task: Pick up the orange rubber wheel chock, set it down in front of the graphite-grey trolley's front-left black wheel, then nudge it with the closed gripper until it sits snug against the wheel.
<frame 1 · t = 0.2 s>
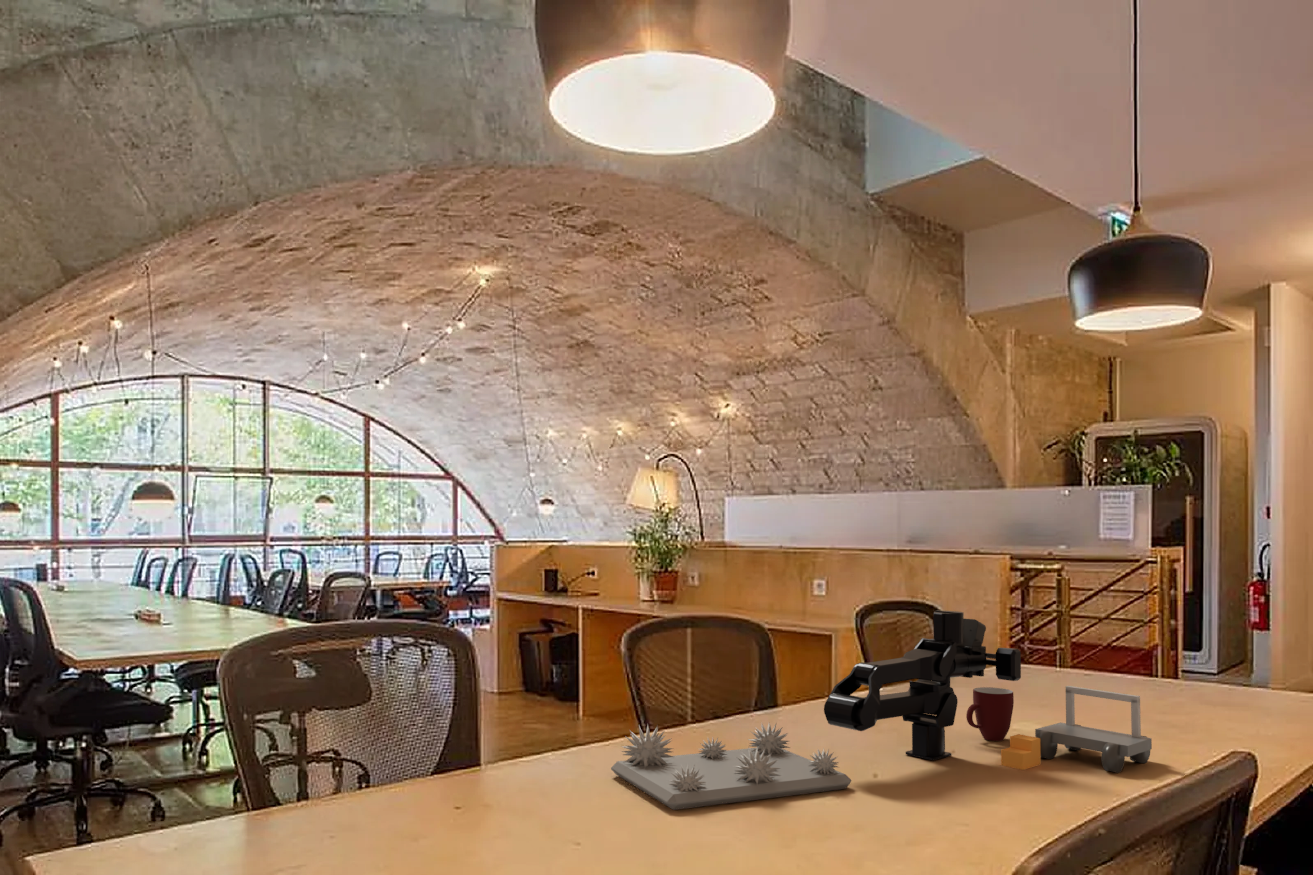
hand: (998, 658, 216), 16 cm above the table, tool horizontal, fingers open, 9 cm apart
wheel chock: (1020, 765, 193), on the table
trolley: (1092, 760, 197), on the table
mug: (989, 740, 213), on the table
decorative tray: (728, 786, 178), on the table
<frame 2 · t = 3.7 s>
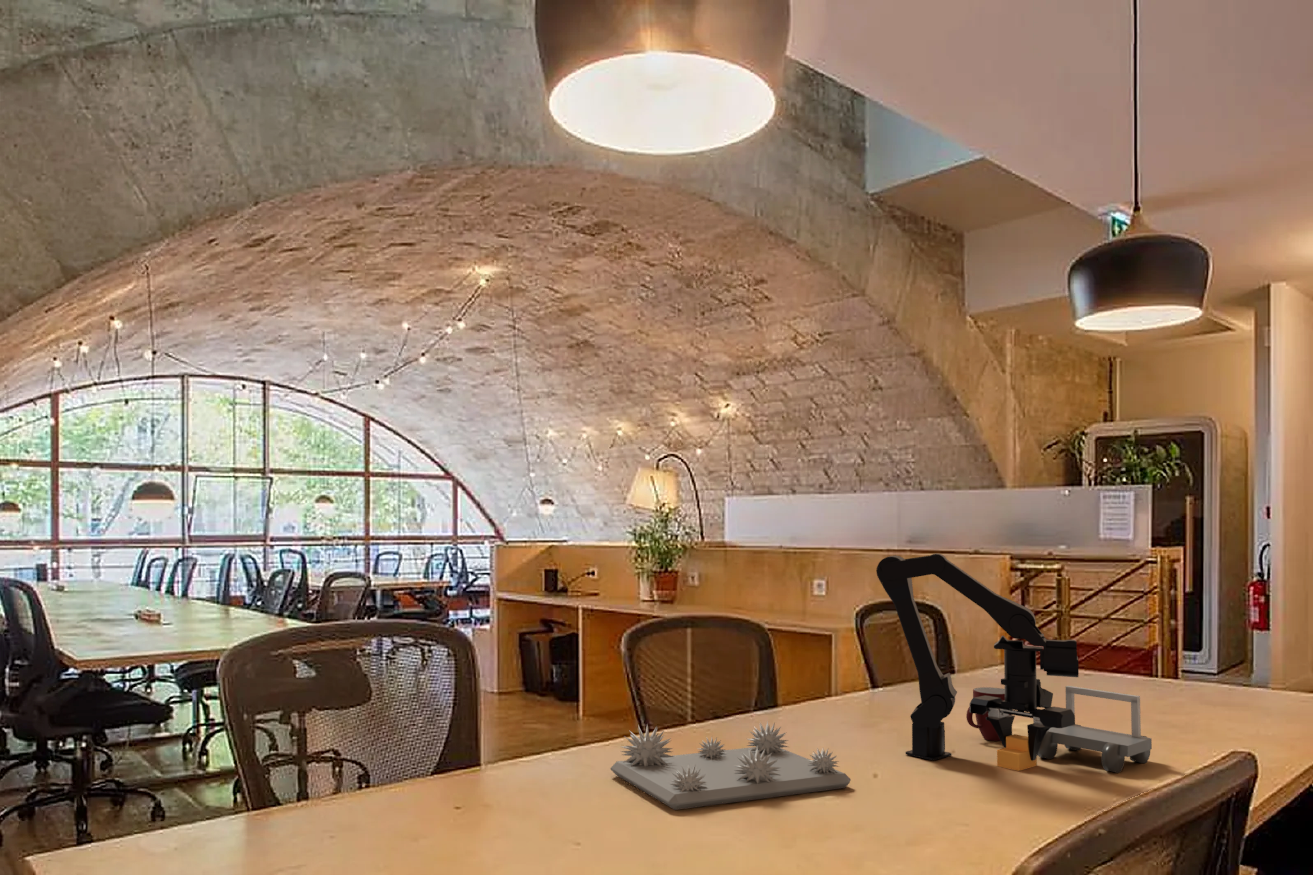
hand: (1021, 757, 193), 1 cm above the table, tool pointing down, fingers closed on wheel chock, 4 cm apart
wheel chock: (1017, 765, 192), on the table, touching gripper
everything else where it was.
when the fingers open (2 cm above the table, at t = 8.1 s): wheel chock drops 1 cm, on the table.
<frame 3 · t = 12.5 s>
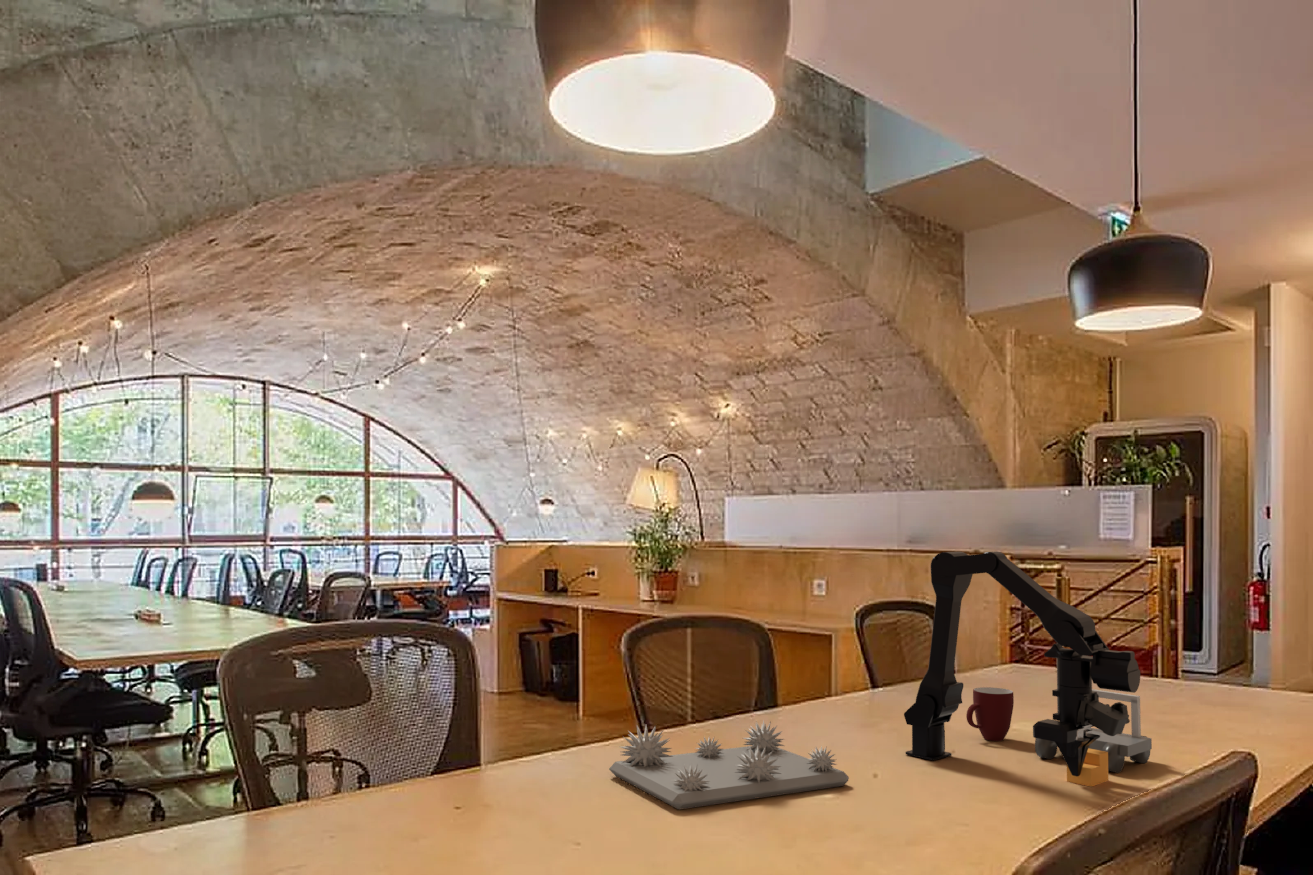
hand: (1075, 775, 179), 2 cm above the table, tool pointing down, fingers closed
wheel chock: (1087, 781, 182), on the table, touching gripper
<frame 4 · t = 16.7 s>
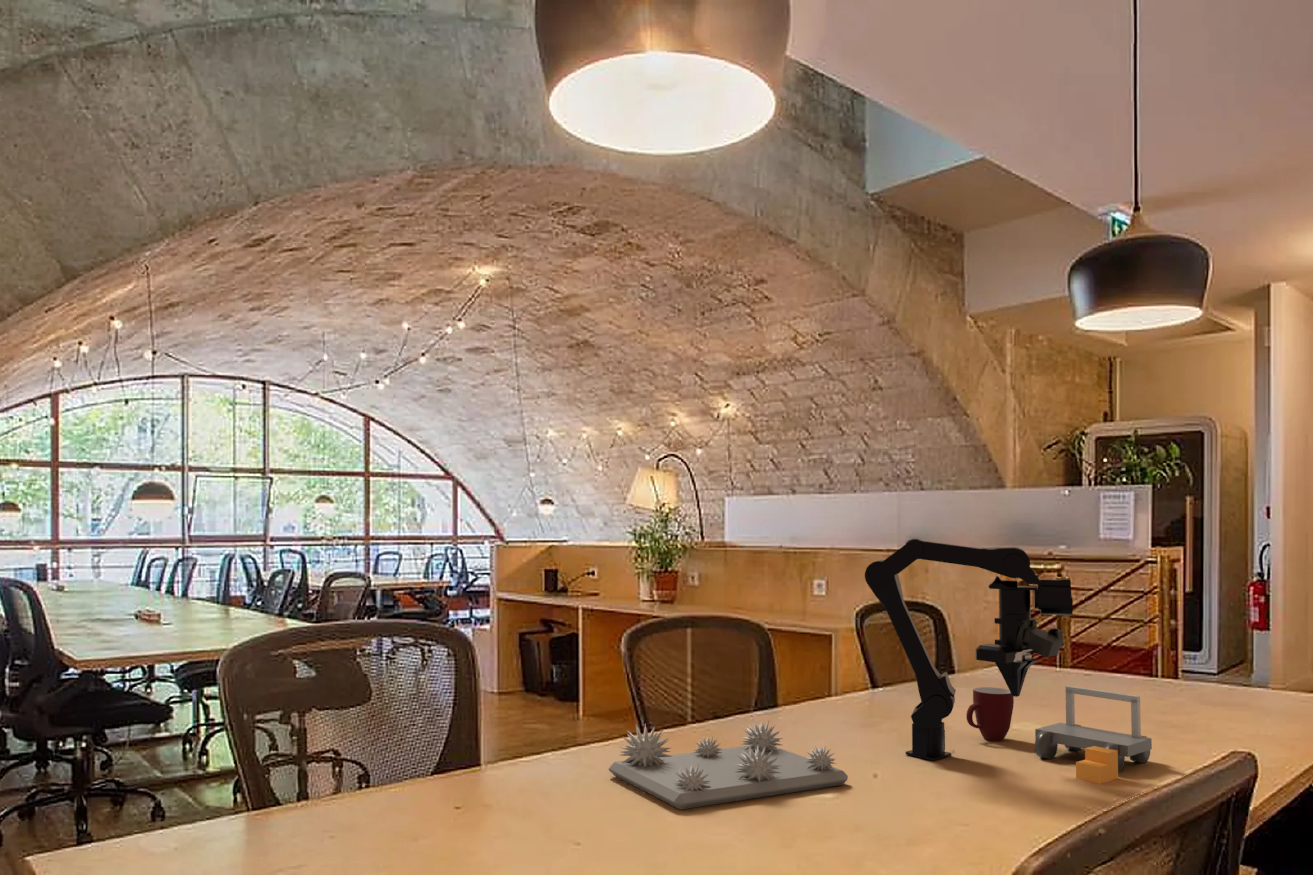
hand: (1015, 696, 195), 12 cm above the table, tool pointing down, fingers closed
wheel chock: (1097, 779, 184), on the table
at the end: wheel chock 0.5 cm from the target spot on the table beside the trolley, on the table; wheel chock tilted 0°; the gripper is holding nothing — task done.
